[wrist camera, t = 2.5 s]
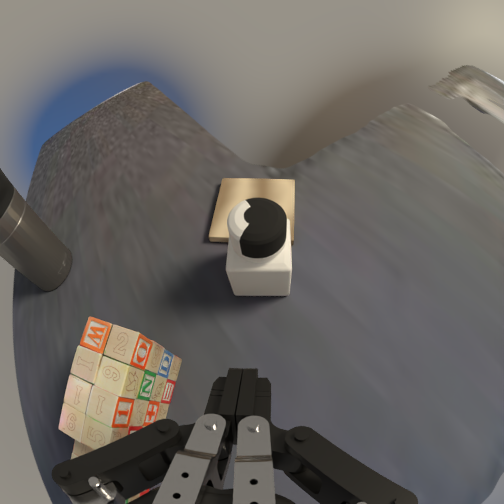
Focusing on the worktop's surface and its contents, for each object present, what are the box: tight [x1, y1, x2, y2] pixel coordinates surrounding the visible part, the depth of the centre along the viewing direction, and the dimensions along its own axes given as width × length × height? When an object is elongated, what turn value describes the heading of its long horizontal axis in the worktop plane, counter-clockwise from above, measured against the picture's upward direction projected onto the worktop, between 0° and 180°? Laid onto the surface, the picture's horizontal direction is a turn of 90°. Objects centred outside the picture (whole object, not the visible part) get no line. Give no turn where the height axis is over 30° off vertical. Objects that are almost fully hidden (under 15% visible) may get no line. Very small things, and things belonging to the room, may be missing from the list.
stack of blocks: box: [59, 317, 182, 504], centre depth 22 cm, size 21×6×12 cm, turn 169°
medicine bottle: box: [226, 197, 292, 296], centre depth 33 cm, size 7×7×12 cm
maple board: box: [209, 178, 295, 245], centre depth 43 cm, size 12×12×1 cm
